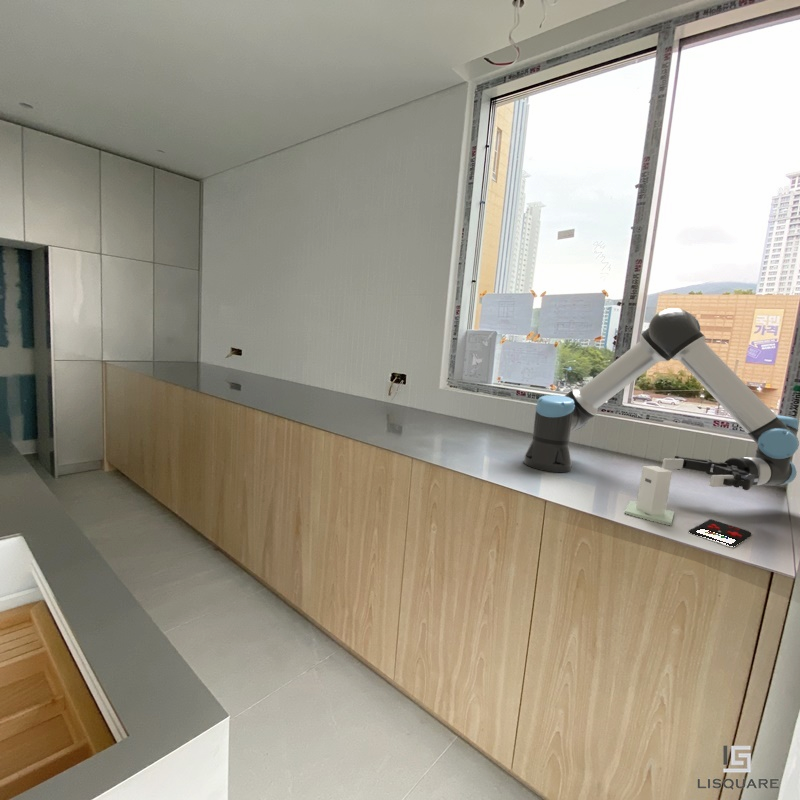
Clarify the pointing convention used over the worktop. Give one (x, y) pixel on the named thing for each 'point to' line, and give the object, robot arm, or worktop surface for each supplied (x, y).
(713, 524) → the handheld gaming device
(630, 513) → the outlet plate
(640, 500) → the block
